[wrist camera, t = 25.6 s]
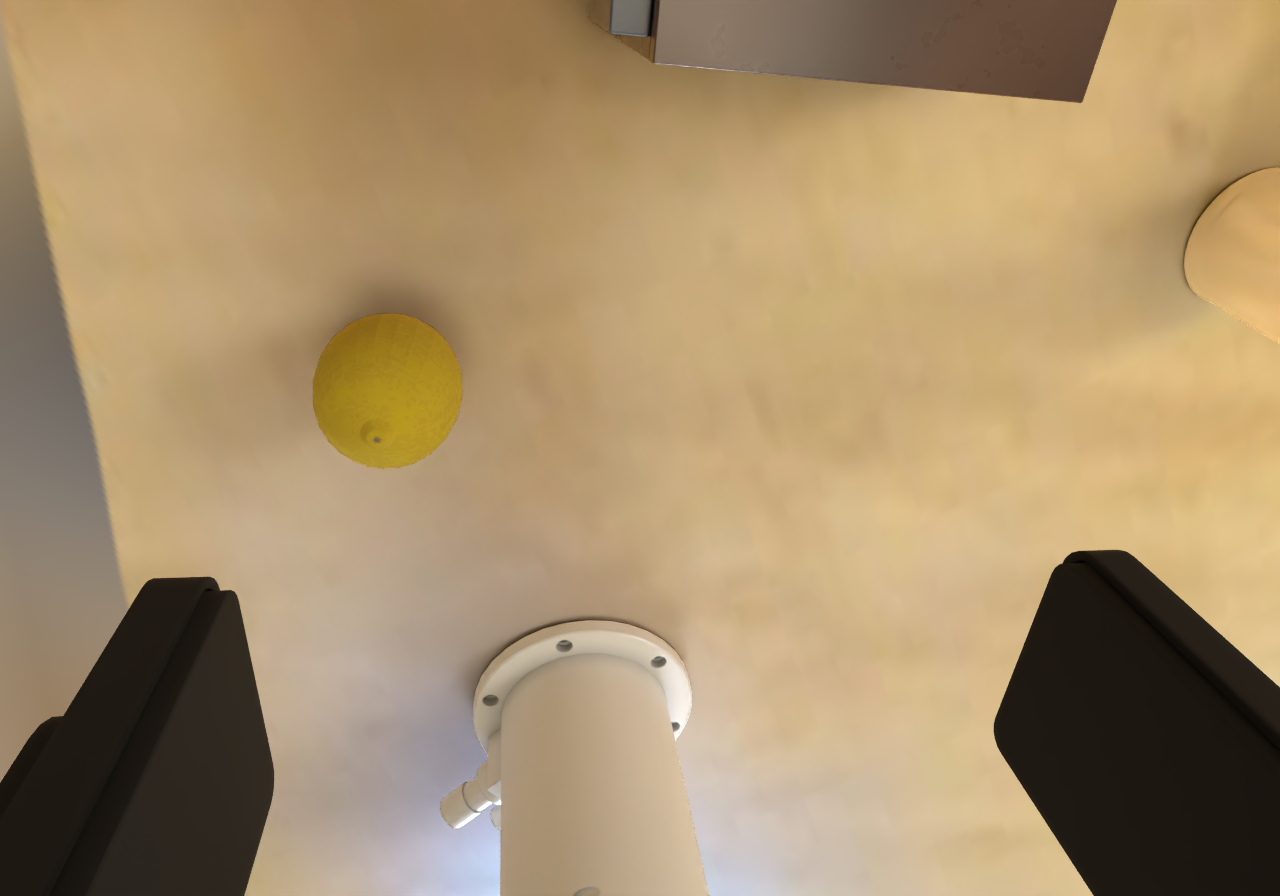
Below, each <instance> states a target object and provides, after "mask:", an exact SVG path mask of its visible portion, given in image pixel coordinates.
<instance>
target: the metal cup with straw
mask: <svg viewBox="0 0 1280 896" xmlns="http://www.w3.org/2000/svg"><path fill="white" fill-rule="evenodd" d="M1184 269H1185V275H1186V279H1187V282H1188V284H1189V286H1190V288H1191V289H1192V290H1193V292H1194V293H1195V294H1196V295H1198V296H1199V297H1200V298H1202V299H1204V300H1206V301H1208V302H1211V303H1212V304H1214V305H1215V306H1217V307H1219V308H1220V309H1222V310H1223V311H1225V312H1227V313H1228V314H1230V315H1232V316H1233V317H1235V318H1237V319H1238V320H1240V321H1242V322H1243V323H1245V324H1246V325H1248V326H1250V327H1251V328H1253V329H1255V330H1256V331H1258V332H1260V333H1261V334H1263V335H1265V336H1266V337H1268V338H1270V339H1271V340H1273V341H1274V342H1276V343H1278V344H1279V345H1280V168H1269V169H1264V170H1260V171H1257V172H1254V173H1252V174H1249V175H1247V176H1245V177H1243V178H1241V179H1240V180H1238V181H1236V182H1235V183H1233V184H1232V185H1231V186H1229V187H1228V188H1227V189H1225V190H1224V191H1223V192H1222V193H1221V194H1220V195H1218V196H1217V197H1216V198H1215V199H1214V200H1213V202H1212V203H1211V204H1210V205H1209V206H1208V207H1207V209H1206V210H1205V211H1204V212H1203V214H1202V215H1201V217H1200V218H1199V220H1198V221H1197V223H1196V225H1195V227H1194V229H1193V231H1192V233H1191V235H1190V238H1189V241H1188V244H1187V247H1186V252H1185V259H1184Z"/></svg>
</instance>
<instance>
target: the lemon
mask: <svg viewBox="0 0 1280 896" xmlns="http://www.w3.org/2000/svg"><path fill="white" fill-rule="evenodd" d="M461 400H462V375H461V371H460V368H459V365H458V362H457V359H456V356H455V354H454V352H453V351H452V349H451V348H450V346H449V345H448V343H447V342H446V340H445V339H444V338H443V337H442V336H441V335H440V334H439V333H438V332H437V331H436V330H435V329H434V328H432V327H431V326H429V325H427V324H425V323H424V322H422V321H420V320H418V319H416V318H413V317H409V316H406V315H403V314H391V313H382V314H376V315H370V316H366V317H364V318H362V319H360V320H357V321H355V322H353V323H351V324H349V325H348V326H347V327H345V328H344V329H343V330H342V331H340V332H339V333H338V334H337V335H335V336H334V337H333V339H332V340H331V341H330V343H329V344H328V346H327V347H326V349H325V350H324V351H323V353H322V355H321V357H320V359H319V362H318V365H317V369H316V372H315V375H314V379H313V406H314V410H315V414H316V417H317V420H318V424H319V426H320V428H321V430H322V432H323V433H324V435H325V436H326V438H327V439H328V441H329V442H330V443H331V444H332V445H333V446H334V447H335V448H336V449H337V450H338V451H339V452H340V453H341V454H343V455H344V456H346V457H348V458H349V459H351V460H353V461H354V462H357V463H360V464H363V465H365V466H368V467H375V468H382V469H384V468H399V467H403V466H406V465H410V464H413V463H415V462H417V461H419V460H421V459H422V458H424V457H426V456H428V455H429V454H431V453H432V452H433V451H434V450H435V449H436V448H437V447H438V446H439V445H440V444H441V443H442V442H443V441H444V440H445V438H446V437H447V435H448V433H449V432H450V430H451V428H452V426H453V425H454V423H455V421H456V419H457V416H458V412H459V408H460V404H461Z"/></svg>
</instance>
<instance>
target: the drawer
mask: <svg viewBox="0 0 1280 896" xmlns="http://www.w3.org/2000/svg"><path fill="white" fill-rule="evenodd" d="M652 7H653V0H589V15H588V18H589V20H591V21H592V22H594V23H595V24H597V25H598V26H600V27H601V28H603V29H605V30H606V31H608V32H609V33H611V34H618V35H629V36H639V37H649V35H650V29H651V18H652Z"/></svg>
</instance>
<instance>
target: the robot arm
mask: <svg viewBox="0 0 1280 896" xmlns="http://www.w3.org/2000/svg"><path fill="white" fill-rule="evenodd" d="M691 705H692V691H691V686H690V681H689V677H688V674H687V671H686V668H685V665H684V663H683V662H682V660H681V659H680V657H679V656H678V654H677V653H676V651H675V650H674V649H672V648H671V647H670V646H669V645H668V644H667V643H666V642H665V641H664V640H662V639H660V638H659V637H657V636H655V635H654V634H652V633H650V632H649V631H646V630H643V629H641V628H638V627H635V626H632V625H629V624H624V623H618V622H613V621H596V620H586V621H577V622H568V623H563V624H559V625H555V626H552V627H548V628H544V629H542V630H539V631H537V632H535V633H532V634H530V635H528V636H525V637H523V638H522V639H520V640H519V641H517V642H516V643H514V644H512V645H511V646H509V647H508V648H506V649H505V650H504V651H503V652H502V653H501V654H500V655H499V656H497V657H496V658H495V659H494V660H493V661H492V662H491V664H490V665H489V666H488V668H487V669H486V670H485V672H484V673H483V674H482V676H481V679H480V681H479V683H478V685H477V688H476V690H475V696H474V703H473V725H474V729H475V733H476V737H477V739H478V741H479V742H480V744H481V746H482V748H483V749H484V751H485V752H486V753H487V754H488V760H487V761H486V762H484V763H483V764H482V765H481V766H480V767H479V768H478V771H477V777H475V778H474V779H473V780H471V781H469V782H465V783H464V784H462V785H461V786H459V787H458V788H457V789H455V790H454V791H452V792H451V793H449V794H448V795H447V796H445V797H444V798H443V800H442V801H441V806H440V810H441V813H442V817H443V818H444V820H445V821H446V823H447V824H448V825H450V826H451V827H453V828H460V827H462V826H463V825H465V824H466V823H467V822H469V821H470V820H472V819H473V818H475V817H476V816H477V815H479V814H480V813H482V812H483V811H484V810H485V808H486V807H487V806H489V805H490V804H492V803H493V804H496V805H498V806H496V807H495V808H493V809H492V810H491V813H490V816H491V821H492V823H493V824H494V826H495V827H496V828H497V829H498V830H501V867H500V896H709V892H708V888H707V883H706V878H705V874H704V869H703V865H702V860H701V856H700V851H699V847H698V842H697V838H696V833H695V828H694V824H693V819H692V815H691V810H690V806H689V801H688V797H687V792H686V788H685V783H684V778H683V774H682V769H681V765H680V760H679V756H678V751H677V747H676V742H675V740H676V739H677V738H678V737H679V735H680V733H681V732H682V730H683V728H684V727H685V725H686V723H687V720H688V717H689V714H690V711H691ZM994 736H995V740H996V743H997V746H998V748H999V750H1000V752H1001V754H1002V755H1003V757H1004V758H1005V760H1006V762H1007V763H1008V765H1009V766H1010V768H1011V769H1012V771H1013V772H1014V774H1015V775H1016V777H1017V778H1018V780H1019V782H1020V783H1021V785H1022V786H1023V788H1024V789H1025V791H1026V792H1027V794H1028V795H1029V797H1030V798H1031V800H1032V802H1033V803H1034V805H1035V806H1036V808H1037V809H1038V811H1039V812H1040V814H1041V815H1042V817H1043V818H1044V820H1045V821H1046V823H1047V825H1048V826H1049V828H1050V829H1051V831H1052V832H1053V834H1054V835H1055V837H1056V838H1057V840H1058V841H1059V843H1060V845H1061V846H1062V848H1063V849H1064V851H1065V852H1066V854H1067V855H1068V857H1069V858H1070V860H1071V861H1072V863H1073V865H1074V866H1075V868H1076V869H1077V871H1078V872H1079V874H1080V875H1081V877H1082V878H1083V880H1084V881H1085V883H1086V885H1087V886H1088V888H1089V889H1090V891H1091V892H1092V894H1093V895H1094V896H1280V687H1279V686H1278V685H1276V684H1275V683H1274V682H1273V681H1272V680H1271V679H1270V678H1269V677H1268V676H1266V675H1265V674H1264V673H1263V672H1262V671H1261V670H1260V669H1259V668H1257V667H1256V666H1255V665H1254V664H1253V663H1252V662H1251V661H1250V660H1249V659H1247V658H1246V657H1245V656H1244V655H1243V654H1242V653H1241V652H1240V651H1239V650H1237V649H1236V648H1235V647H1234V646H1233V645H1232V644H1231V643H1230V642H1229V641H1227V640H1226V639H1225V638H1224V637H1223V636H1222V635H1221V634H1220V633H1218V632H1217V631H1216V630H1215V629H1214V628H1213V627H1212V626H1211V625H1210V624H1208V623H1207V622H1206V621H1205V620H1204V619H1203V618H1202V617H1201V616H1200V615H1198V614H1197V613H1196V612H1195V611H1194V610H1193V609H1192V608H1191V607H1190V606H1188V605H1187V604H1186V603H1185V602H1184V601H1183V600H1182V599H1181V598H1180V597H1178V596H1177V595H1176V594H1175V593H1174V592H1173V591H1172V590H1171V589H1169V588H1168V587H1167V586H1166V585H1165V584H1164V583H1163V582H1162V581H1161V580H1159V579H1158V578H1157V577H1156V576H1155V575H1154V574H1153V573H1152V572H1151V571H1149V570H1148V569H1147V568H1146V567H1145V566H1144V565H1143V564H1142V563H1141V562H1139V561H1138V560H1137V559H1136V558H1135V557H1134V556H1132V555H1131V554H1129V553H1128V552H1126V551H1121V550H1097V551H1077V552H1073V553H1071V554H1070V555H1068V556H1067V557H1066V558H1065V560H1064V562H1063V563H1062V564H1060V565H1058V566H1057V567H1056V568H1055V569H1054V571H1053V572H1052V574H1051V577H1050V579H1049V582H1048V584H1047V587H1046V590H1045V592H1044V595H1043V597H1042V600H1041V602H1040V605H1039V608H1038V610H1037V613H1036V615H1035V618H1034V620H1033V623H1032V625H1031V628H1030V631H1029V633H1028V636H1027V638H1026V641H1025V643H1024V646H1023V649H1022V651H1021V654H1020V656H1019V659H1018V661H1017V664H1016V667H1015V669H1014V672H1013V674H1012V677H1011V679H1010V682H1009V684H1008V687H1007V690H1006V692H1005V695H1004V697H1003V700H1002V702H1001V705H1000V708H999V710H998V713H997V715H996V718H995V722H994ZM273 789H274V768H273V762H272V757H271V752H270V748H269V743H268V738H267V733H266V729H265V724H264V719H263V714H262V710H261V705H260V700H259V695H258V691H257V686H256V681H255V676H254V672H253V667H252V662H251V657H250V653H249V648H248V643H247V638H246V634H245V629H244V624H243V619H242V615H241V610H240V605H239V601H238V598H237V595H236V593H235V592H234V591H232V590H226V591H220V589H219V586H218V583H217V582H216V581H215V579H214V578H211V577H187V578H153V579H151V580H149V581H147V582H146V584H145V585H144V586H143V587H142V589H141V590H140V592H139V594H138V595H137V597H136V598H135V600H134V602H133V603H132V605H131V607H130V608H129V610H128V611H127V613H126V615H125V616H124V618H123V620H122V621H121V623H120V625H119V626H118V628H117V629H116V631H115V633H114V634H113V636H112V638H111V639H110V641H109V643H108V644H107V646H106V647H105V649H104V651H103V652H102V654H101V656H100V657H99V659H98V661H97V662H96V664H95V665H94V667H93V669H92V670H91V672H90V673H89V675H88V677H87V679H86V680H85V682H84V683H83V685H82V687H81V688H80V690H79V692H78V693H77V695H76V696H75V698H74V700H73V701H72V703H71V705H70V706H69V708H68V709H67V711H66V713H65V714H64V716H59V717H51V718H50V719H48V720H47V721H45V722H44V723H42V724H41V725H40V726H39V727H38V728H37V729H36V731H35V732H34V733H33V734H32V735H31V737H30V738H29V739H28V741H27V742H26V744H25V745H24V747H23V749H22V750H21V751H20V753H19V755H18V756H17V758H16V759H15V761H14V762H13V764H12V765H11V767H10V769H9V770H8V772H7V774H6V775H5V776H4V778H3V780H2V781H1V783H0V896H244V894H245V891H246V888H247V884H248V881H249V877H250V874H251V870H252V867H253V864H254V860H255V857H256V853H257V850H258V846H259V843H260V839H261V836H262V833H263V829H264V826H265V822H266V819H267V815H268V812H269V809H270V805H271V801H272V796H273Z"/></svg>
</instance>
